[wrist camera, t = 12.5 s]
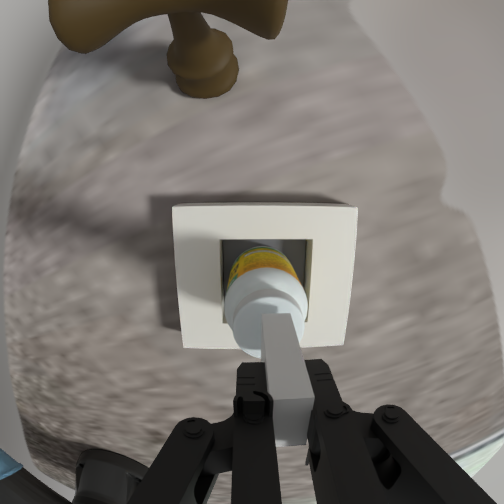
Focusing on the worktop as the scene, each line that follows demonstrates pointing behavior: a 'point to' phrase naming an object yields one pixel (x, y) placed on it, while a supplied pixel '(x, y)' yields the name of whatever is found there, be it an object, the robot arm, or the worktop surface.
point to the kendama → (184, 32)
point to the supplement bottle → (262, 295)
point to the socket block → (270, 235)
